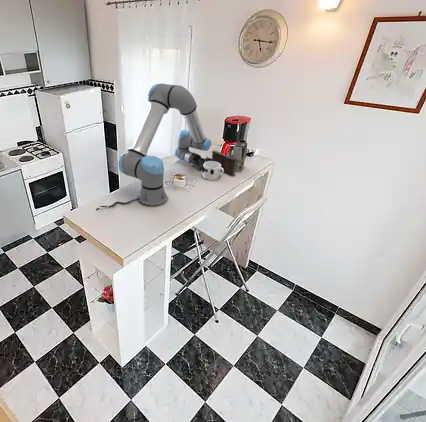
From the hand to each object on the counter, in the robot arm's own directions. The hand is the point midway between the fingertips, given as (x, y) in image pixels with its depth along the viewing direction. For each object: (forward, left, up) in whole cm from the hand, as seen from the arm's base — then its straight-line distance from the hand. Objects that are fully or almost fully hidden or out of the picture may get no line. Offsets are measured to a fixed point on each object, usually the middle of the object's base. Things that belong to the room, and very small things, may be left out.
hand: (219, 170), depth 173 cm
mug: (-2, +3, -6) cm, 7 cm away
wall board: (+7, +11, -6) cm, 14 cm away
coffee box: (+17, +12, -6) cm, 22 cm away
